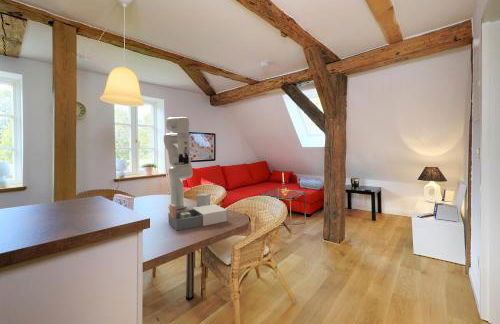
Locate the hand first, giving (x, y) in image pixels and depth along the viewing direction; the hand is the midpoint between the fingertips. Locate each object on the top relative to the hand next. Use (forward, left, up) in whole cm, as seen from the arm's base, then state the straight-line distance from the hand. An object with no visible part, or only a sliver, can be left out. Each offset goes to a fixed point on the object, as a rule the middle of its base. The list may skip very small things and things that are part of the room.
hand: (183, 163), depth 158 cm
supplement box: (-6, +16, -36) cm, 40 cm away
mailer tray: (+13, -3, -36) cm, 39 cm away
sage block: (+13, -4, -36) cm, 38 cm away
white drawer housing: (+13, +12, -36) cm, 40 cm away
